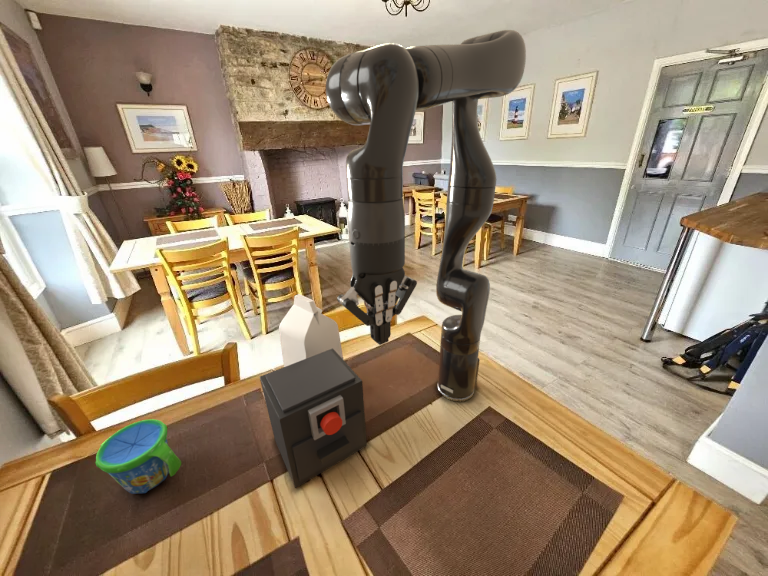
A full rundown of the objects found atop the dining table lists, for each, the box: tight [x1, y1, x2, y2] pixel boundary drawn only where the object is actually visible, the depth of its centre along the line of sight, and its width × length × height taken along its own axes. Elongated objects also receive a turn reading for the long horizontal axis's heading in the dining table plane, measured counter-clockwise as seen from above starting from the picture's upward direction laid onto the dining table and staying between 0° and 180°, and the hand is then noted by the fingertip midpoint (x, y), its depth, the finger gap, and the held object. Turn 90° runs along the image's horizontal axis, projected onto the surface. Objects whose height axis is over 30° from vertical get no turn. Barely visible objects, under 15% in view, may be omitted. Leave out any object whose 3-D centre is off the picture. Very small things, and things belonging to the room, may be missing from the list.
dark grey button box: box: [259, 348, 368, 489], centre depth 63 cm, size 16×16×19 cm
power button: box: [321, 412, 343, 435], centre depth 55 cm, size 4×2×4 cm, turn 124°
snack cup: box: [94, 418, 182, 495], centre depth 60 cm, size 16×10×10 cm
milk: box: [278, 293, 344, 367], centre depth 80 cm, size 12×12×26 cm
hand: (380, 341), depth 49 cm, fingers closed
